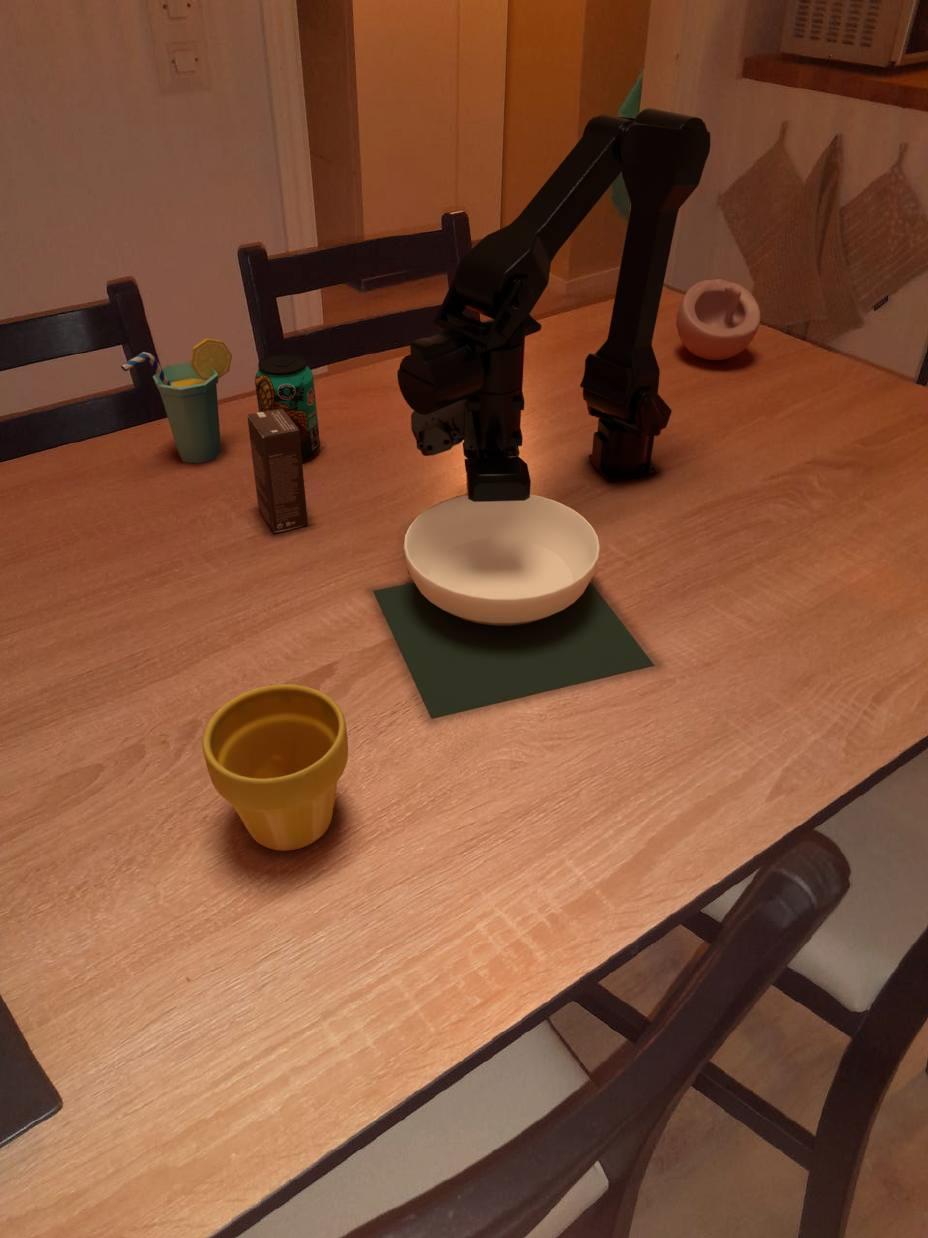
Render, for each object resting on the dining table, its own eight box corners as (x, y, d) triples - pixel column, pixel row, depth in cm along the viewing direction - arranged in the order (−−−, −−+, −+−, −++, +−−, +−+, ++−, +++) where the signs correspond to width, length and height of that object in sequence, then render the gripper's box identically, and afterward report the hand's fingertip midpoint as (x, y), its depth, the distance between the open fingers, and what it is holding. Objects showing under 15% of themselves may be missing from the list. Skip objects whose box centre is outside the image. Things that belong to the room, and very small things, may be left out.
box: (311, 525, 110) (300, 428, 102) (272, 534, 108) (259, 437, 101) (294, 500, 114) (283, 406, 107) (257, 508, 112) (243, 414, 105)
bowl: (460, 675, 90) (460, 623, 86) (375, 567, 103) (372, 518, 99) (632, 614, 97) (639, 564, 93) (532, 521, 110) (534, 474, 107)
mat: (567, 552, 106) (567, 551, 106) (654, 666, 91) (654, 665, 91) (373, 591, 100) (372, 590, 100) (431, 719, 85) (431, 718, 85)
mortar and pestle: (689, 376, 141) (701, 298, 134) (659, 344, 151) (669, 270, 143) (765, 369, 143) (781, 292, 136) (731, 338, 152) (745, 265, 145)
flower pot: (229, 773, 80) (210, 685, 74) (355, 765, 81) (346, 677, 75) (215, 876, 72) (192, 787, 66) (354, 866, 73) (344, 777, 67)
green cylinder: (254, 459, 122) (241, 369, 114) (282, 434, 127) (271, 347, 119) (303, 469, 120) (293, 378, 112) (330, 444, 125) (322, 356, 117)
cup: (166, 487, 116) (140, 369, 107) (129, 466, 120) (101, 351, 111) (257, 445, 124) (240, 332, 115) (219, 427, 128) (200, 316, 119)
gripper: (413, 342, 104) (416, 467, 114) (416, 428, 90) (419, 562, 100) (515, 341, 105) (510, 465, 115) (535, 426, 91) (526, 559, 101)
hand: (490, 510), depth 108 cm, fingers closed
